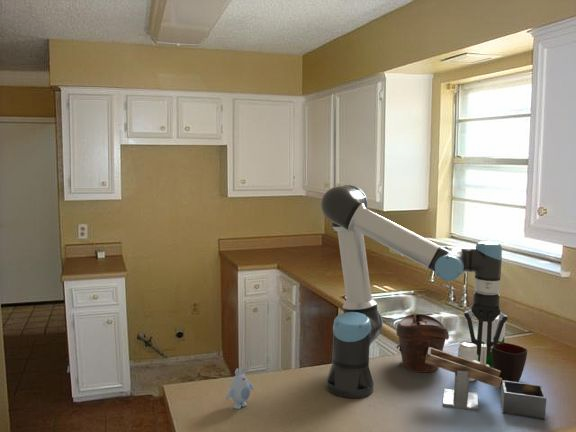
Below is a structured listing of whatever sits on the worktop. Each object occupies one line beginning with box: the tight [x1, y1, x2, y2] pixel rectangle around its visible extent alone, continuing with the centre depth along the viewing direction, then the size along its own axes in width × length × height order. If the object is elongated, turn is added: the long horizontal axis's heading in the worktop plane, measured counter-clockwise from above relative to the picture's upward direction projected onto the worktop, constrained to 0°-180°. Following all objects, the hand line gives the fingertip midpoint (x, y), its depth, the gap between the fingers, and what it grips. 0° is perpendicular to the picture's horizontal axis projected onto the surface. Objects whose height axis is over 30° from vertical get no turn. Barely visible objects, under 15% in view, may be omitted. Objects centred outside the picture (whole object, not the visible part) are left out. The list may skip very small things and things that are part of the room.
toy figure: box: [225, 366, 254, 410], centre depth 159 cm, size 11×6×12 cm, turn 136°
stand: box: [442, 369, 479, 412], centre depth 167 cm, size 10×11×11 cm
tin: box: [500, 380, 547, 421], centre depth 162 cm, size 11×9×6 cm
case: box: [396, 313, 450, 373], centre depth 194 cm, size 18×20×18 cm
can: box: [457, 340, 478, 383], centre depth 184 cm, size 6×6×12 cm
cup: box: [492, 342, 528, 386], centre depth 182 cm, size 10×14×12 cm
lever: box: [425, 347, 502, 389], centre depth 169 cm, size 22×14×3 cm, turn 73°
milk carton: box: [476, 315, 507, 368], centre depth 198 cm, size 9×9×20 cm
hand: (482, 365), depth 171 cm, fingers closed
